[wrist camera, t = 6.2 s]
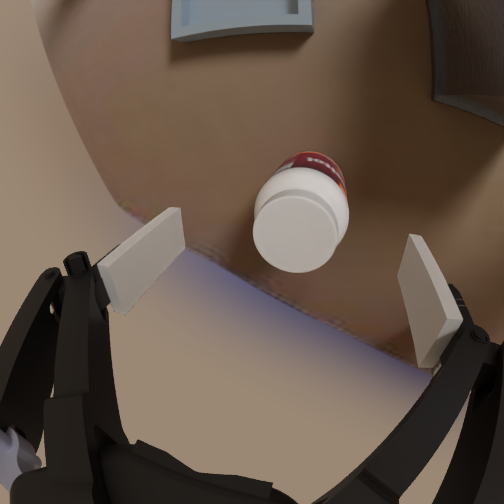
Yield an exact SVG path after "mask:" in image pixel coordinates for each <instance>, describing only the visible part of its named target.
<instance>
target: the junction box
mask: <svg viewBox="0 0 504 504" xmlns="http://www.w3.org/2000/svg"><path fill="white" fill-rule="evenodd" d="M426 5H427V11H428V19H429V28H430V39H431V57H432V99H431V100H432V101H436V102H439V103H443V104H446V105H449V106H452V107H455V108H458V109H461V110H464V111H466V112H469V113H472V114H474V115H477V116H479V117H482V118H484V119H487V120H489V121H492V122H494V123H496V124H498V125H501V126H503V127H504V0H426Z"/></svg>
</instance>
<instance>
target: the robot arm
mask: <svg viewBox="0 0 504 504" xmlns="http://www.w3.org/2000/svg"><path fill="white" fill-rule="evenodd" d="M184 249H185V241H184V233H183V226H182V218H181V209H180V208H176V207H169V208H168V209H166V210H165V211H164V212H162V213H161V214H159V215H158V216H157V217H155V218H154V219H153V220H151V221H150V222H149V223H147V224H146V225H145V226H143V227H142V228H141V229H140V230H138V231H137V232H136V233H134V234H133V235H132V236H131V237H129V238H128V239H127V240H126V241H124V242H123V243H122V244H119V245H117V246H116V247H115V248H114V249H112V250H111V252H109V253H108V254H107V255H106V256H104V257H103V258H102V259H100V260H99V261H98V262H97V263H96V264H95V265H93V266H92V267H91V264H90V261H89V258H88V255H87V253H86V252H84V251H79V252H75V253H72V254H70V255H69V256H67V257H66V258H65V259H64V261H63V263H64V266H65V269H66V271H67V274H68V276H62V274H61V272H60V269H59V268H57V267H53V268H49V269H47V270H45V271H44V272H43V273H42V274H41V275H40V277H39V278H38V280H37V281H36V283H35V284H34V286H33V288H32V289H31V291H30V292H29V294H28V296H27V297H26V299H25V301H24V302H23V304H22V306H21V308H20V309H19V311H18V313H17V315H16V316H15V318H14V320H13V322H12V324H11V326H10V328H9V330H8V332H7V334H6V336H5V338H4V340H3V342H2V344H1V346H0V483H1V484H2V485H3V486H4V487H5V488H6V489H7V490H8V491H9V492H10V504H298V503H297V502H296V501H294V499H292V498H291V497H289V496H288V495H286V494H284V493H283V492H281V491H279V490H277V489H274V488H272V485H273V483H271V482H266V481H260V480H256V479H251V478H247V477H242V476H238V475H223V474H222V475H221V474H209V473H199V472H196V471H194V470H192V469H191V468H189V467H188V466H186V465H184V464H183V463H182V462H180V461H179V460H177V459H176V458H174V457H173V456H171V455H170V454H169V453H167V452H165V451H163V450H161V449H158V448H156V447H154V446H151V445H149V444H147V443H145V442H143V441H141V440H137V442H136V443H135V444H134V445H133V444H130V443H129V441H128V439H127V437H126V435H125V433H124V431H123V428H122V425H121V420H120V415H119V409H118V404H117V397H116V391H115V384H114V377H113V368H112V360H111V348H110V334H109V314H108V310H107V307H106V306H107V305H108V304H109V303H110V302H111V305H112V308H113V310H114V312H117V313H120V314H123V315H126V314H127V313H128V312H129V311H130V310H131V308H132V307H133V306H134V305H135V304H136V303H137V301H138V300H139V299H140V298H141V297H142V296H143V295H144V294H145V292H146V291H147V290H148V289H149V288H150V287H151V286H152V284H153V283H154V282H155V281H156V280H157V279H158V277H159V276H160V275H161V274H162V273H163V272H164V271H165V270H166V269H167V268H168V267H169V265H170V264H171V263H172V262H173V261H174V260H175V259H176V258H177V257H178V256H179V254H180V253H181V252H182V251H183V250H184ZM397 278H398V282H399V285H400V289H401V292H402V296H403V299H404V303H405V307H406V311H407V315H408V319H409V324H410V328H411V333H412V337H413V342H414V347H415V352H416V358H417V364H418V368H433V367H434V366H435V364H436V363H437V361H438V360H439V358H440V362H441V367H440V369H439V370H438V371H437V373H436V374H435V375H434V377H433V378H432V379H431V381H430V383H429V385H428V386H427V388H426V389H425V390H424V392H423V393H422V395H421V396H420V397H419V399H418V400H417V401H416V403H415V404H414V405H413V407H412V408H411V409H410V410H409V412H408V413H407V414H406V415H405V417H404V418H403V419H402V420H401V422H400V423H399V424H398V425H397V426H396V427H395V429H394V430H393V431H392V432H391V433H390V434H389V435H388V437H387V438H386V439H385V440H384V441H383V442H382V443H381V444H380V445H379V446H378V447H377V448H376V449H375V450H374V452H372V453H371V455H370V456H368V457H367V458H366V459H365V460H364V461H363V462H362V463H361V464H360V465H359V466H358V467H357V468H356V469H355V470H354V471H352V472H351V473H350V474H349V475H348V476H347V477H346V478H344V479H343V480H342V481H341V482H340V483H339V484H337V485H336V486H335V487H334V488H332V489H331V490H330V491H328V492H327V493H325V494H324V495H323V496H321V497H320V498H319V499H317V500H316V501H314V502H313V503H312V504H399V498H400V497H401V495H402V494H403V493H404V492H405V491H406V489H407V488H408V487H409V486H410V485H411V483H412V482H413V481H414V480H415V479H416V477H417V476H418V475H419V474H420V472H421V471H422V470H423V468H424V467H425V466H426V464H427V463H428V462H429V460H430V459H431V457H432V456H433V454H434V453H435V452H436V450H437V449H438V447H439V446H440V444H441V443H442V441H443V440H444V438H445V437H446V435H447V433H448V432H449V430H450V428H451V427H452V425H453V423H454V421H455V419H456V418H457V416H458V414H459V413H460V411H461V409H462V407H463V405H464V403H465V401H466V399H467V397H468V395H469V393H470V391H471V393H470V398H469V403H468V407H467V411H466V415H465V419H464V423H463V427H462V430H461V433H460V436H459V439H458V443H457V446H456V449H455V451H454V454H453V457H452V460H451V462H450V465H449V467H448V470H447V473H446V475H445V477H444V480H443V482H442V484H441V486H440V488H439V491H438V493H437V495H436V497H435V499H434V501H433V503H432V504H504V341H503V343H502V344H501V345H499V344H496V343H493V342H490V339H489V335H488V334H487V333H486V331H485V330H484V329H482V328H481V327H479V326H477V325H474V323H473V321H472V318H471V316H470V314H469V312H468V309H467V307H466V306H465V303H464V301H463V300H462V297H461V295H460V293H459V291H458V290H457V289H456V288H455V287H454V286H453V285H452V284H447V282H446V280H445V278H444V276H443V274H442V273H441V271H440V269H439V267H438V265H437V263H436V261H435V259H434V257H433V256H432V254H431V252H430V250H429V248H428V247H427V245H426V243H425V241H424V240H423V238H422V236H420V235H414V234H409V236H408V240H407V244H406V247H405V251H404V254H403V258H402V261H401V264H400V268H399V271H398V274H397ZM50 304H51V306H52V308H53V310H54V311H53V313H52V314H51V312H50ZM53 384H54V394H53V397H52V398H50V396H51V392H52V388H53ZM43 429H44V444H45V456H46V467H43V468H41V465H42V463H41V460H40V458H39V457H38V456H36V452H37V450H38V448H39V444H40V441H41V438H42V433H43Z"/></svg>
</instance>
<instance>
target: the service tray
mask: <svg viewBox="0 0 504 504" xmlns="http://www.w3.org/2000/svg"><path fill="white" fill-rule="evenodd" d="M269 32H309V33H314V18H313V0H172V15H171V39H172V40H176V41H179V42H183V43H186V42H191V41H196V40H202V39H208V38H215V37H222V36H230V35H239V34H251V33H269Z"/></svg>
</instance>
